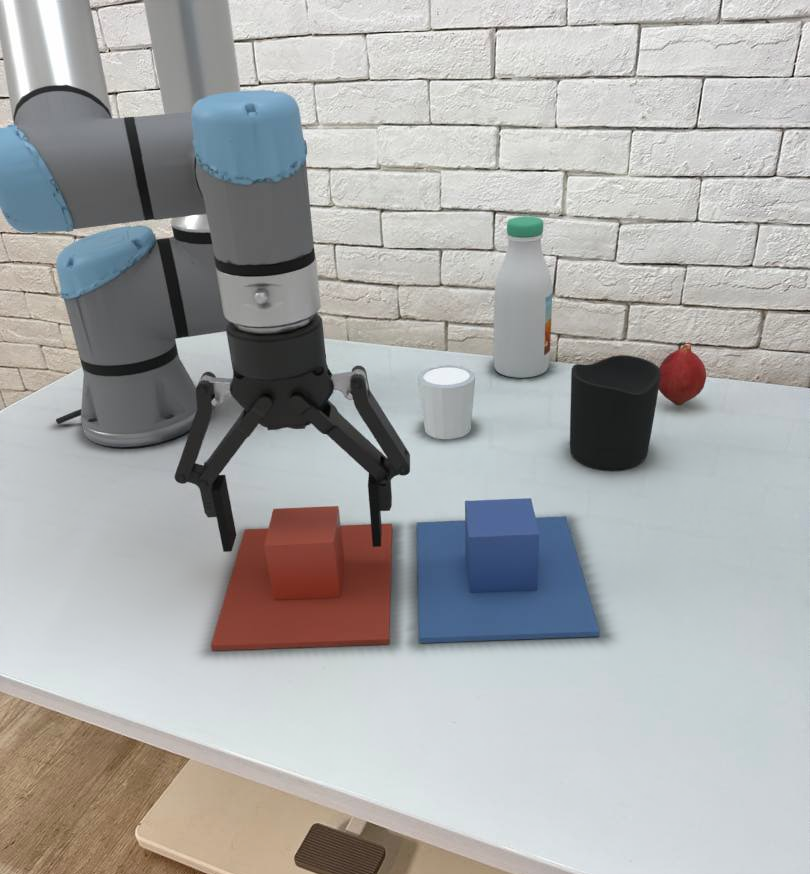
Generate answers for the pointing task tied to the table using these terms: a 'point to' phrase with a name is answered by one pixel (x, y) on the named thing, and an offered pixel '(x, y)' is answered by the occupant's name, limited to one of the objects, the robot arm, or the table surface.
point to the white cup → (447, 400)
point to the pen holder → (613, 411)
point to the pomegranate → (682, 375)
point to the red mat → (308, 618)
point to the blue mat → (500, 611)
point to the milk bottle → (523, 303)
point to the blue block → (501, 545)
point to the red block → (305, 553)
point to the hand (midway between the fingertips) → (303, 541)
